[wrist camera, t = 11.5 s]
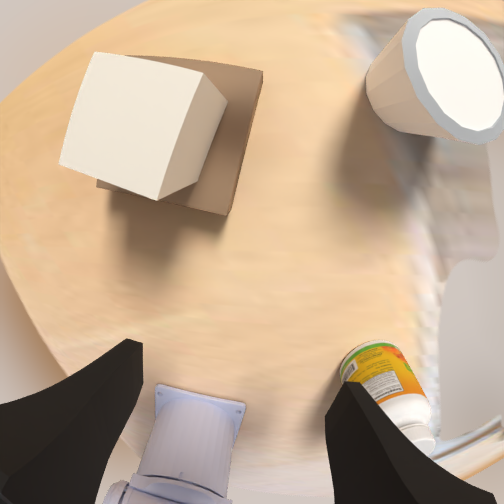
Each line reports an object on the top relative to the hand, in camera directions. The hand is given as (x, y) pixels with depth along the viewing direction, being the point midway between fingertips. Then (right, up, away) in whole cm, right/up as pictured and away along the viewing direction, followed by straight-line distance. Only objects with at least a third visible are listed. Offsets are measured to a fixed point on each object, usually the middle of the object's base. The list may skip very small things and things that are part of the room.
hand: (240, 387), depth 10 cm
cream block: (-4, +11, +5) cm, 13 cm away
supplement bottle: (+10, -4, +12) cm, 16 cm away
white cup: (+10, +15, +6) cm, 19 cm away
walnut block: (-4, +12, +8) cm, 15 cm away
